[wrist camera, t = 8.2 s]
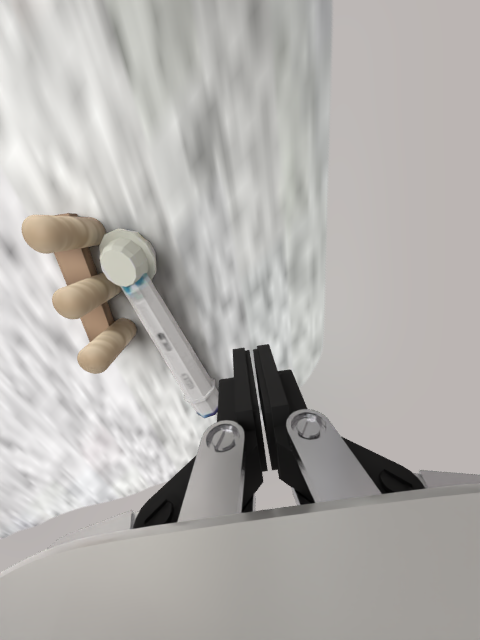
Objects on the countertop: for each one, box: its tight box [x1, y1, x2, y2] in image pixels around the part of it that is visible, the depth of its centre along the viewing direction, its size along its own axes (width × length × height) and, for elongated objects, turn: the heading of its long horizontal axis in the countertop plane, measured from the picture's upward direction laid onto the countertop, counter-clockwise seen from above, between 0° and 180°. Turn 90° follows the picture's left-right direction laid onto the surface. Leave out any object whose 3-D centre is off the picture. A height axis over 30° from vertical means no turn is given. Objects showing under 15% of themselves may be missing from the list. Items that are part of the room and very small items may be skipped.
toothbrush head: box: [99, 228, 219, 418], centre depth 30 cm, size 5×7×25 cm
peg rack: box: [22, 213, 137, 374], centre depth 26 cm, size 16×6×8 cm, turn 8°
